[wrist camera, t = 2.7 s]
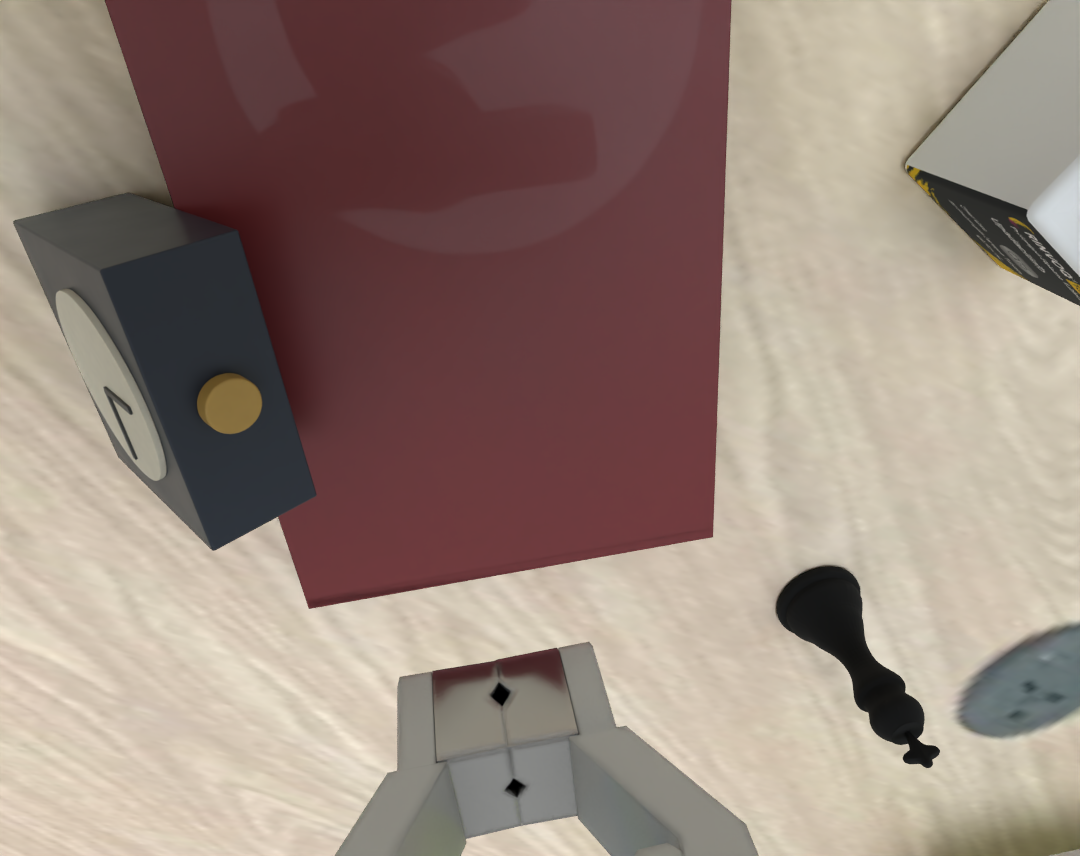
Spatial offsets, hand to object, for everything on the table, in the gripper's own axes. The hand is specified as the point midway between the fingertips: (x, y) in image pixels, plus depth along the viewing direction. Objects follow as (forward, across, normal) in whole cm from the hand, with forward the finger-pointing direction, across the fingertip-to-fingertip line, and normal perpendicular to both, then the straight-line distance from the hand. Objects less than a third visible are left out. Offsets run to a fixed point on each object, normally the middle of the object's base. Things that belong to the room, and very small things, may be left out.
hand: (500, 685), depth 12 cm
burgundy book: (+19, -1, 0) cm, 19 cm away
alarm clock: (+15, +9, 0) cm, 17 cm away
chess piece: (+19, -16, +20) cm, 32 cm away
